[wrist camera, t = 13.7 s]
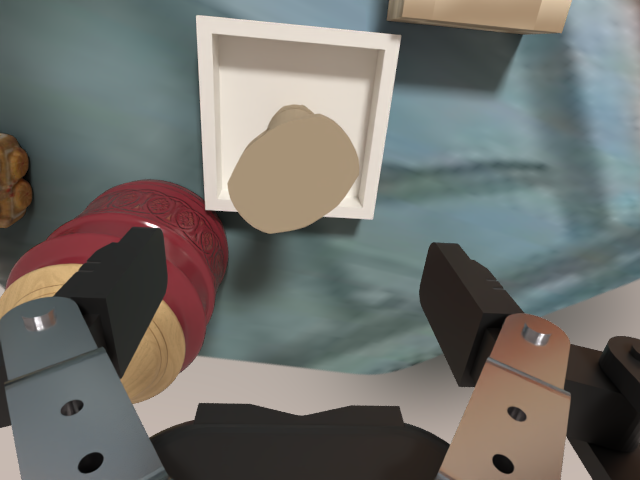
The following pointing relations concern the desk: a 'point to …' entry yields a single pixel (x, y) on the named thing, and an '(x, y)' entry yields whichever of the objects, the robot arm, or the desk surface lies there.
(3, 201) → the ornament
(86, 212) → the canister
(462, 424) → the robot arm
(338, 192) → the handle
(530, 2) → the socket block
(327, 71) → the tray
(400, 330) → the desk surface
